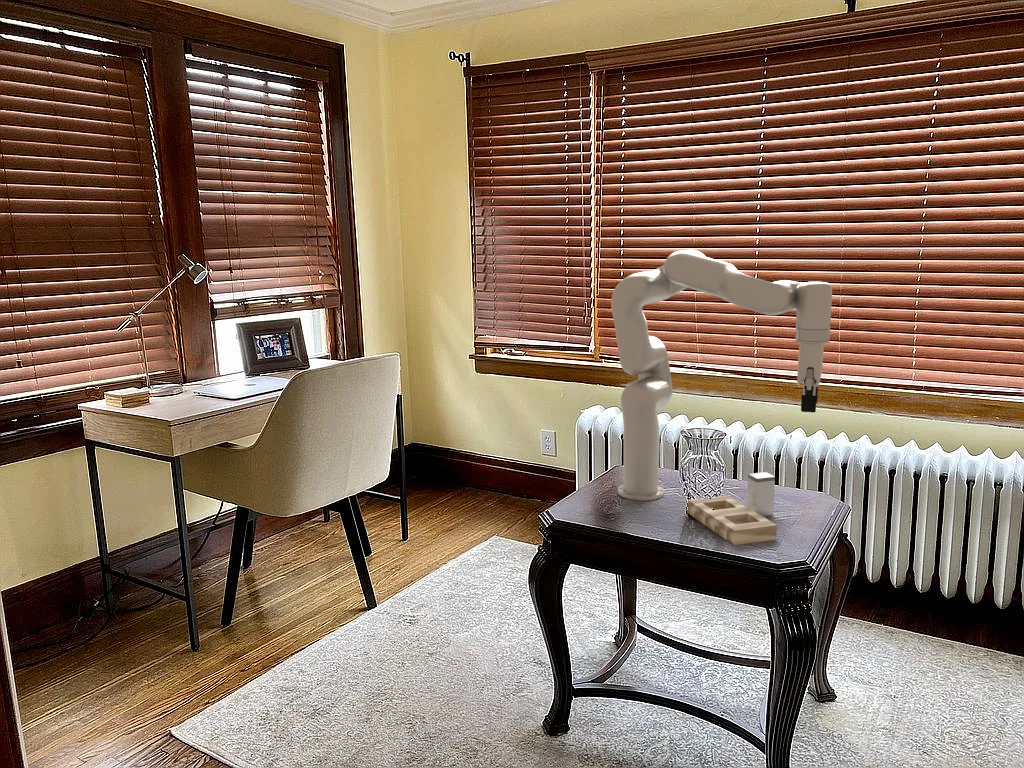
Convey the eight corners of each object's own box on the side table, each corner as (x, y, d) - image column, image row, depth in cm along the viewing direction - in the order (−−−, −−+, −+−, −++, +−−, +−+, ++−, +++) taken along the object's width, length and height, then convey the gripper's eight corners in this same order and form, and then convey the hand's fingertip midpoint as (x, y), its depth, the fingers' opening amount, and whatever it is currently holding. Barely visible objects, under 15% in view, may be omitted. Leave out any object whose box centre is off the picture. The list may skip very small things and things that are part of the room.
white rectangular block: (746, 511, 203) (748, 474, 201) (764, 509, 204) (765, 472, 202) (755, 517, 199) (757, 478, 197) (773, 514, 200) (774, 476, 198)
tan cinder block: (687, 513, 203) (687, 499, 202) (726, 508, 206) (726, 495, 205) (734, 545, 182) (734, 530, 181) (776, 539, 185) (776, 524, 184)
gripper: (797, 330, 195) (794, 399, 199) (793, 340, 180) (790, 414, 183) (830, 331, 193) (826, 400, 196) (829, 341, 177) (825, 416, 180)
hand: (809, 407), depth 189 cm, fingers open, 9 cm apart
